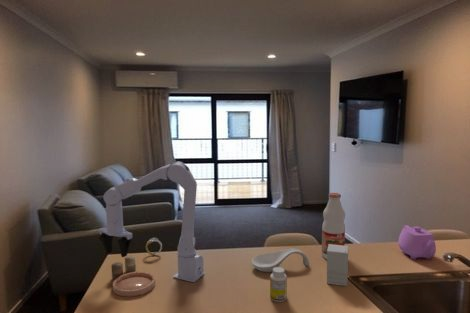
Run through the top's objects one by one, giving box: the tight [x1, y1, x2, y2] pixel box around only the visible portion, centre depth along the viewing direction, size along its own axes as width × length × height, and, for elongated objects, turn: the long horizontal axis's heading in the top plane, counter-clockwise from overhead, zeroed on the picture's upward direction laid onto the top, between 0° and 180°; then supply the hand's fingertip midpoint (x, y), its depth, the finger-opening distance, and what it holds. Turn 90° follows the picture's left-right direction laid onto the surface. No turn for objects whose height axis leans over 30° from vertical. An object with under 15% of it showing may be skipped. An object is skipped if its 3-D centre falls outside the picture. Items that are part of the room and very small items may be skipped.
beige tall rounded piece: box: [124, 254, 137, 274], centre depth 136 cm, size 4×4×6 cm
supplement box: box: [326, 244, 349, 287], centre depth 126 cm, size 7×7×13 cm
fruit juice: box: [321, 192, 346, 260], centre depth 146 cm, size 9×9×28 cm
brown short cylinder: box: [111, 261, 124, 282], centre depth 129 cm, size 4×4×6 cm
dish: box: [112, 271, 156, 298], centre depth 123 cm, size 15×15×2 cm
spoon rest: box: [251, 247, 310, 273], centre depth 138 cm, size 24×12×7 cm, turn 103°
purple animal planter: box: [398, 225, 437, 260], centre depth 148 cm, size 20×12×13 cm, turn 5°
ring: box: [145, 237, 163, 257], centre depth 150 cm, size 7×3×8 cm, turn 95°
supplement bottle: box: [269, 266, 288, 303], centre depth 114 cm, size 6×6×10 cm
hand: (116, 254), depth 129 cm, fingers open, 7 cm apart
